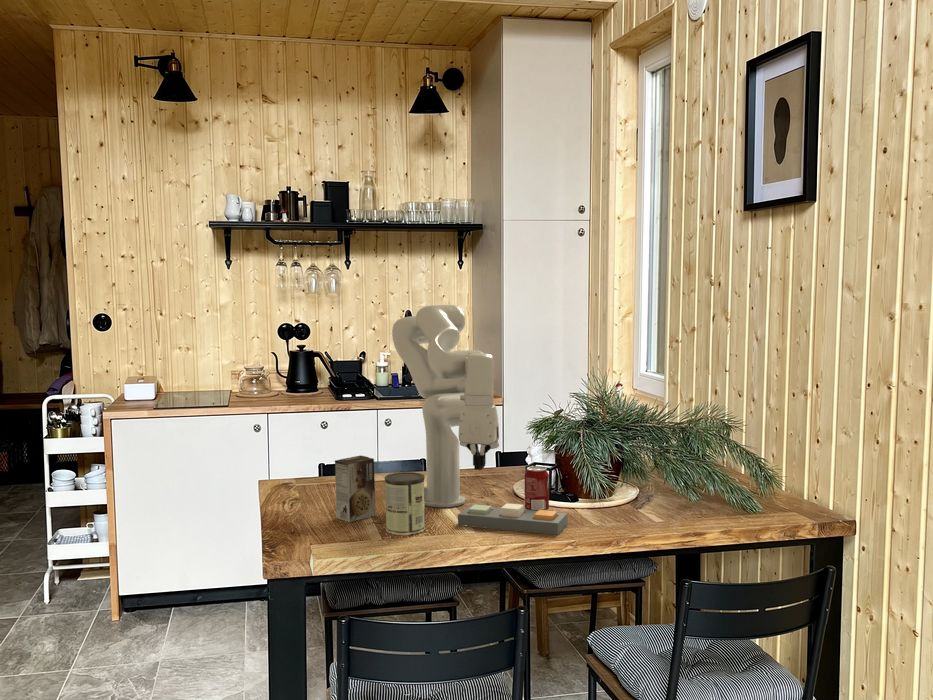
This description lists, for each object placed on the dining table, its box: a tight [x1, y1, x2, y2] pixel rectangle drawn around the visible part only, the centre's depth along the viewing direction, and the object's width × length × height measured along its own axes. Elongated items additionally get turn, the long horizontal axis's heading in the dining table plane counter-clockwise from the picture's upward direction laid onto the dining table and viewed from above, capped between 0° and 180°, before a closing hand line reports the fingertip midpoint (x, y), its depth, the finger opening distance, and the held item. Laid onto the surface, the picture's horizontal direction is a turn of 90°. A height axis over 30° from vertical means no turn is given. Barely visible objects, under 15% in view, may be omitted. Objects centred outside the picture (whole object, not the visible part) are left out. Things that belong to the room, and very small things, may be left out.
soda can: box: [524, 465, 550, 511], centre depth 246 cm, size 7×7×12 cm
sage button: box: [469, 504, 493, 515], centre depth 235 cm, size 5×5×2 cm
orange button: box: [534, 510, 558, 520], centre depth 229 cm, size 5×5×2 cm
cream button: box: [500, 502, 525, 517], centre depth 232 cm, size 5×5×2 cm
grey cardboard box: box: [334, 455, 377, 523], centre depth 241 cm, size 9×6×16 cm
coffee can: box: [384, 471, 426, 535], centre depth 228 cm, size 10×10×14 cm
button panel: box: [457, 504, 568, 536], centre depth 232 cm, size 27×10×3 cm, turn 70°
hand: (479, 468), depth 234 cm, fingers closed
